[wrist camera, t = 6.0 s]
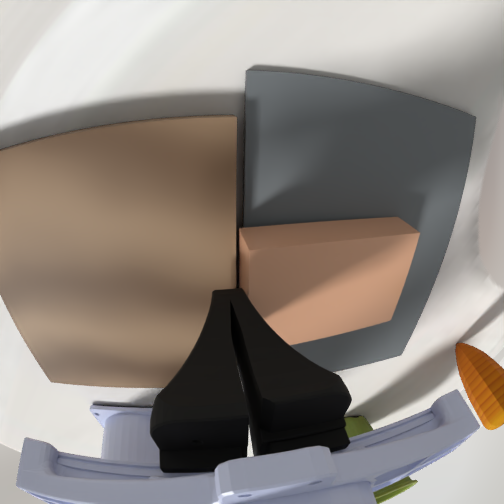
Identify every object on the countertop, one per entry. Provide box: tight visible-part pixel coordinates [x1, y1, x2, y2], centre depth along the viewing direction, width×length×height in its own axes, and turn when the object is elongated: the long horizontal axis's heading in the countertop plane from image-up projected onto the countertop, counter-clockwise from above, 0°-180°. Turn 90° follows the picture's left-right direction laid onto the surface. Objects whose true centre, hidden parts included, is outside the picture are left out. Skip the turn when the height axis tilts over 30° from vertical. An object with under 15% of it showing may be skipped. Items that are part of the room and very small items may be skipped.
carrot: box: [455, 343, 504, 430], centre depth 19 cm, size 5×5×15 cm
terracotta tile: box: [239, 217, 420, 345], centre depth 15 cm, size 6×9×2 cm, turn 89°
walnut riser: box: [0, 115, 237, 388], centre depth 14 cm, size 16×14×2 cm
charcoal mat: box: [243, 70, 476, 372], centre depth 17 cm, size 20×14×1 cm
